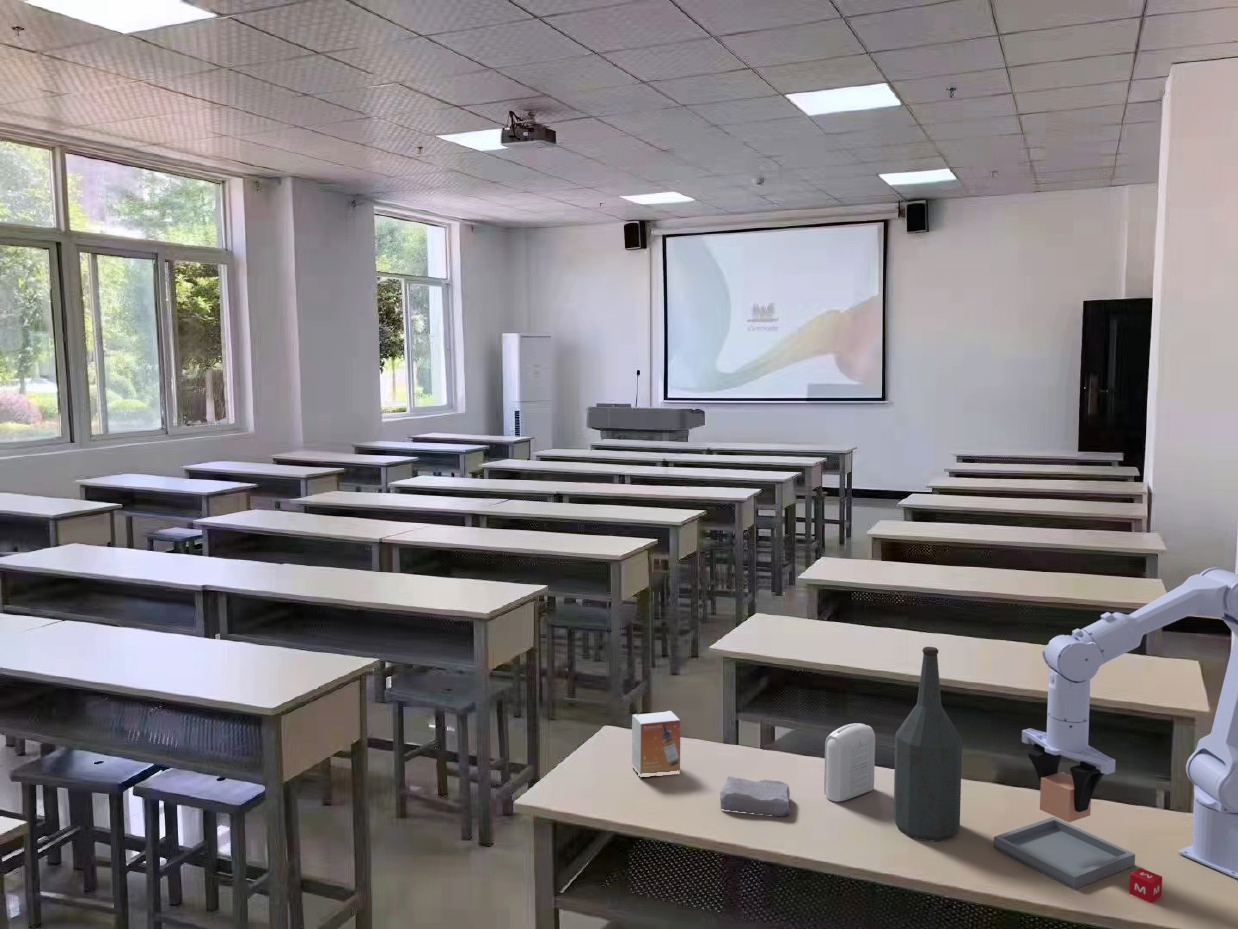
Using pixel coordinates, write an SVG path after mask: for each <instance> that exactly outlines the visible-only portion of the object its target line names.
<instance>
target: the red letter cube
mask: <svg viewBox="0 0 1238 929" xmlns="http://www.w3.org/2000/svg"><path fill="white" fill-rule="evenodd" d="M1128 889H1129V891H1128V892H1129V895H1131V896H1134V897H1136V898H1138V899H1141V900H1142V901H1144V902H1147V903H1149V904H1153V903H1154V902H1155V901H1157V900H1158V899H1160V898H1162V894H1163V893H1162V892H1163V876H1162V875H1159V874H1156V873H1155V872H1152V871H1149V870H1147V869H1145V868H1142V867H1140V868H1138V869H1136V870H1135V871H1133V872H1131V873H1129V888H1128Z"/></svg>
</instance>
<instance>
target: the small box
mask: <svg viewBox="0 0 1238 929" xmlns="http://www.w3.org/2000/svg"><path fill="white" fill-rule="evenodd" d="M631 716H632V718H631V720H632V721H631V722H632V723H631V764H632V763H633V765H634V767H636V769H637V771H638V772H639V773H640V774H642V773H657V772H670V771H677V770H678V771H679V770H680V771H681V726H682V725H681V720H680V718H679V717H678V716H677V715H676V714H675V713H674V712H673V711H672V710H667V711H662V712H661V711H660V712H651V713H641V714H640V713H638V714H637V713H635V714H632V715H631Z"/></svg>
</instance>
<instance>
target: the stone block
mask: <svg viewBox="0 0 1238 929" xmlns="http://www.w3.org/2000/svg"><path fill="white" fill-rule="evenodd" d="M720 789H721V790H720V793H719V800H720V805H719V806H720V810H721V809H724V810H730V811H738V812H746V813H754V814H763V815H762V816H765V815H772V816H771V817H773V816H780V817H788V816H789V814H790V803H789V801H790V793H791V792H790V786H789V784H788V783H785V782H783V781H780V780H770V779H762V780H758V781H753V780H748V779H746V778H739V777H733V776H727V778H726V780H725V782H724V784H723V785H722V787H721V788H720ZM787 815H788V816H787Z"/></svg>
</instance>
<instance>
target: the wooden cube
mask: <svg viewBox="0 0 1238 929" xmlns="http://www.w3.org/2000/svg"><path fill="white" fill-rule="evenodd" d="M1039 792H1040V794H1039V796H1040V797H1039V810H1040V811H1043V812H1044V813H1047V814H1049V815H1051V816H1052V817H1054V818H1057V819H1059V820H1061V821H1063V822H1065V823H1071V822H1075V821H1077V820H1080V819H1084V818H1087V817H1090V816H1091V809H1092V808H1091V804H1092V799H1091V800H1090V803H1089V806H1088V810H1085V811H1082V812H1077V811H1075V806H1074V783H1073V778H1072V774H1068V773H1067V772H1064V771H1061V772H1057V773H1056V774H1053V775H1049V776H1046V777H1043V778H1041V786H1040V791H1039Z"/></svg>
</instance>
